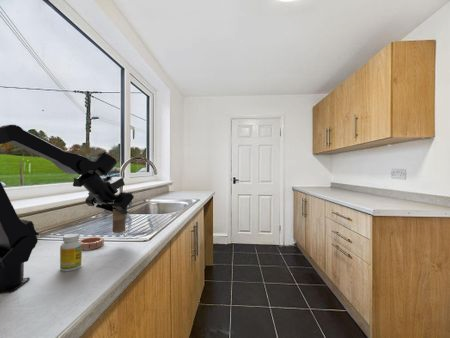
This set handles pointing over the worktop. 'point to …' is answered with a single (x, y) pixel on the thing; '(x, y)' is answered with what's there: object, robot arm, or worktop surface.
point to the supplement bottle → (70, 253)
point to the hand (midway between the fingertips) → (122, 213)
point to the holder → (92, 243)
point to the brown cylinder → (118, 222)
